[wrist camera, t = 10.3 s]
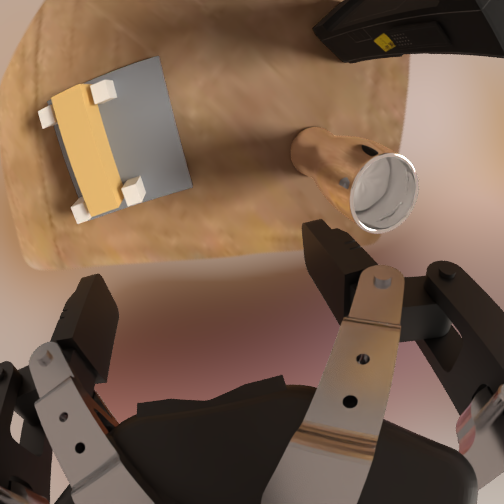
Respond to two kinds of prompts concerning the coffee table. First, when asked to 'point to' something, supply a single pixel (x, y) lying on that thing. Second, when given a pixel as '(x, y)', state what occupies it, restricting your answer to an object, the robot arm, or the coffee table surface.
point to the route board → (134, 135)
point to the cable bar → (88, 149)
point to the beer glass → (358, 177)
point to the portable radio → (413, 28)
